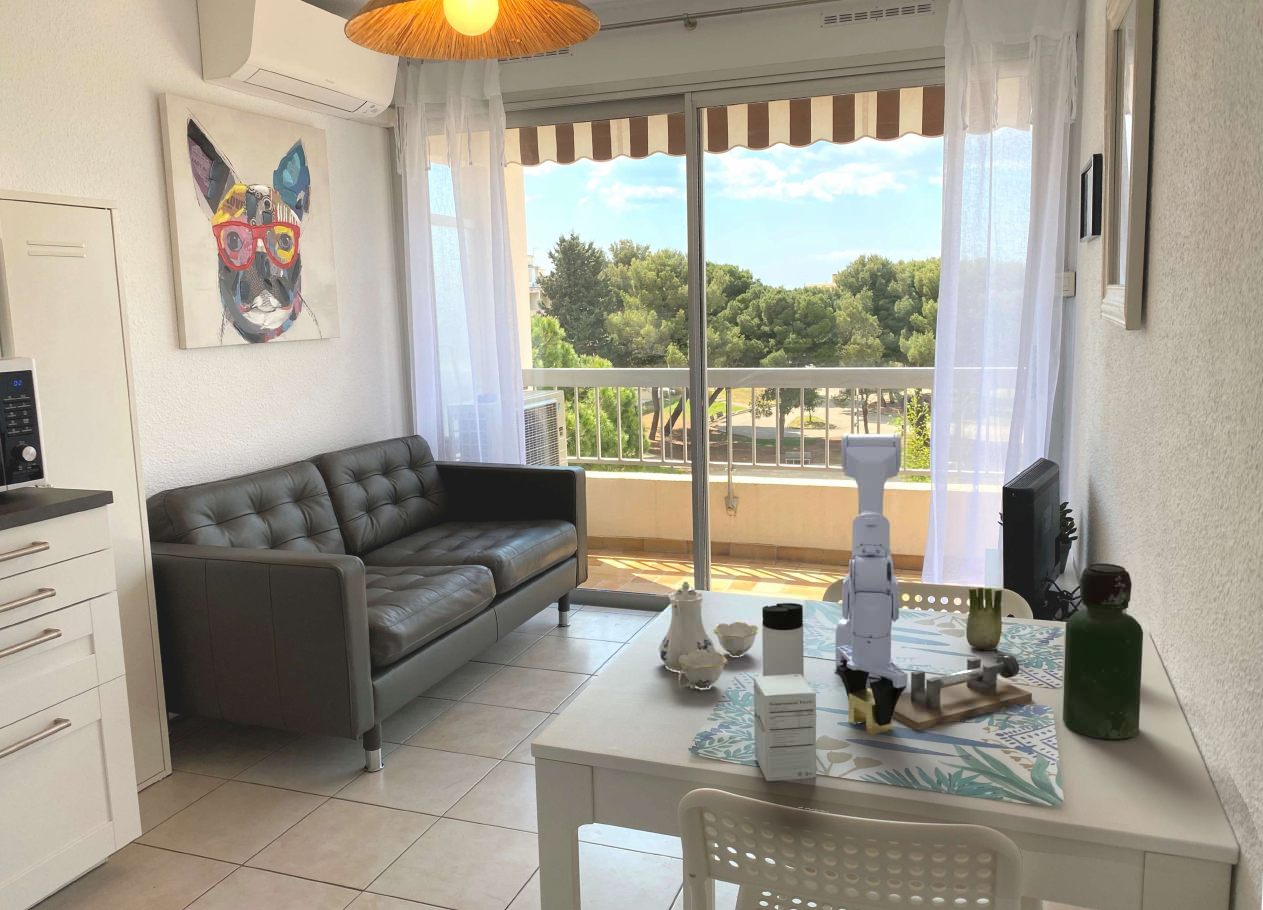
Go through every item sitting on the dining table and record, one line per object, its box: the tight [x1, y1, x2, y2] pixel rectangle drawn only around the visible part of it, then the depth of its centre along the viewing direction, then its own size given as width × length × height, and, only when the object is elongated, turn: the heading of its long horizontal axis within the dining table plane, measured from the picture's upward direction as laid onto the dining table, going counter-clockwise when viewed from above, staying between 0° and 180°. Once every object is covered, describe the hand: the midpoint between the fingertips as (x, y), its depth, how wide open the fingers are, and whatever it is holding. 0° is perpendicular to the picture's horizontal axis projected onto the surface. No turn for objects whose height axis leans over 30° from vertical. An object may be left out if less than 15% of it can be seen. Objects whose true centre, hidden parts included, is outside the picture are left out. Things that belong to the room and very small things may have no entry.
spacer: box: [848, 687, 894, 736], centre depth 148 cm, size 4×6×5 cm
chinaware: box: [658, 580, 759, 690], centre depth 175 cm, size 28×17×17 cm, turn 159°
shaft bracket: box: [893, 657, 1033, 731], centre depth 155 cm, size 24×10×6 cm, turn 115°
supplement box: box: [753, 674, 817, 782], centre depth 134 cm, size 7×7×13 cm
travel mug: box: [761, 602, 805, 678], centre depth 148 cm, size 6×7×20 cm
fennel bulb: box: [965, 586, 1003, 651], centre depth 181 cm, size 6×5×12 cm
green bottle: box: [1062, 563, 1144, 740], centre depth 144 cm, size 10×10×25 cm
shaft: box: [937, 654, 1020, 688], centre depth 157 cm, size 16×4×4 cm, turn 115°
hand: (870, 716), depth 149 cm, fingers open, 6 cm apart
